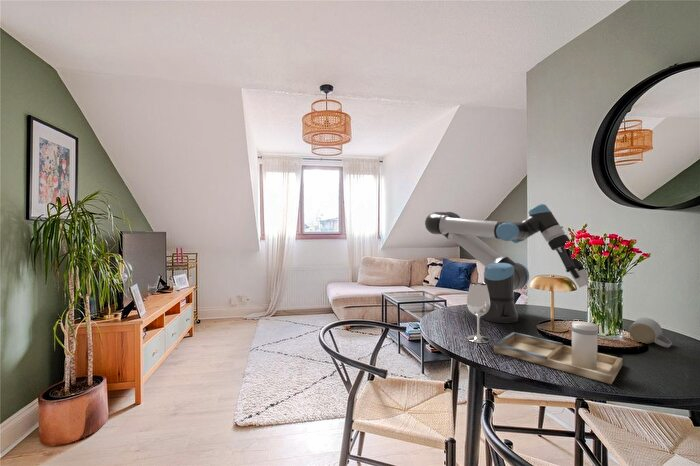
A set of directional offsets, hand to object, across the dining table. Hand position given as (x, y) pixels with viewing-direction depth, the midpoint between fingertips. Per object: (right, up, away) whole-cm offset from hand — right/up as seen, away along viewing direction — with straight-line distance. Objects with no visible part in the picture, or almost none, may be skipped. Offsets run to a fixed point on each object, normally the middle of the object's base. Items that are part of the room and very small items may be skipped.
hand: (587, 285), depth 129 cm
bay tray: (-30, -18, -28) cm, 45 cm away
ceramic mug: (+11, -17, -15) cm, 25 cm away
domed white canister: (-25, -18, -34) cm, 46 cm away
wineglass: (-47, -18, -11) cm, 51 cm away
